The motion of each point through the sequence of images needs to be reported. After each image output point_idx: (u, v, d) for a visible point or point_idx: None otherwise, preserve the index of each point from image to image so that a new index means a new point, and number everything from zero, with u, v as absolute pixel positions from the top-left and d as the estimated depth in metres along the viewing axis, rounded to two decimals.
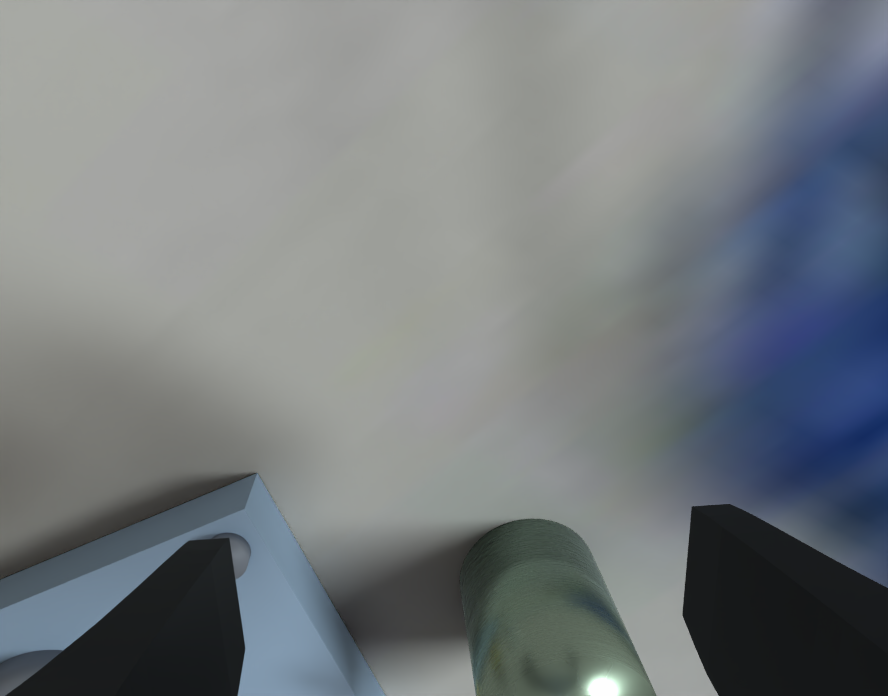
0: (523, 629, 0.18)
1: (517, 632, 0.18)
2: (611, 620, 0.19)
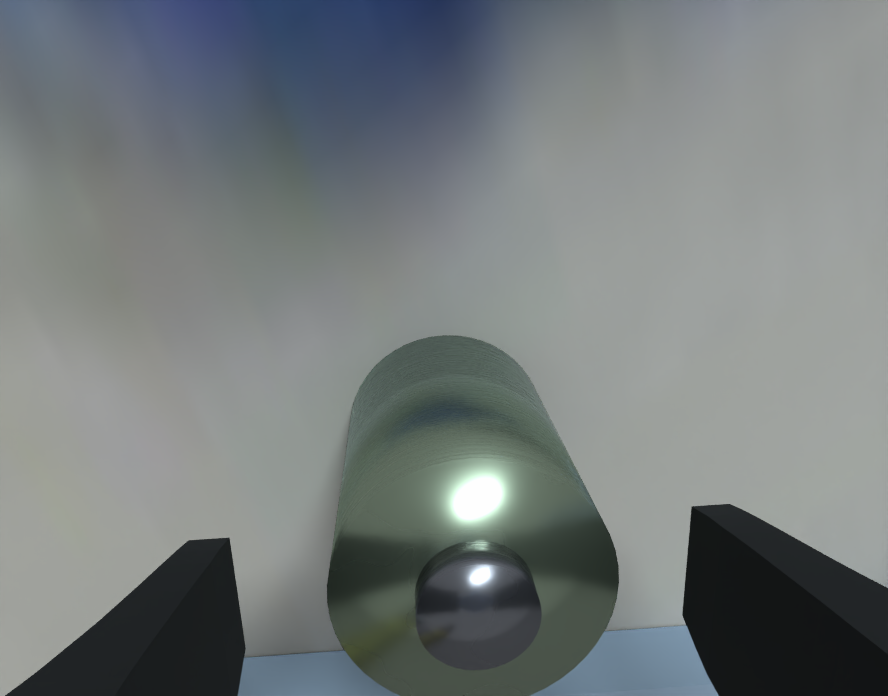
0: None
1: None
2: (395, 430, 0.12)
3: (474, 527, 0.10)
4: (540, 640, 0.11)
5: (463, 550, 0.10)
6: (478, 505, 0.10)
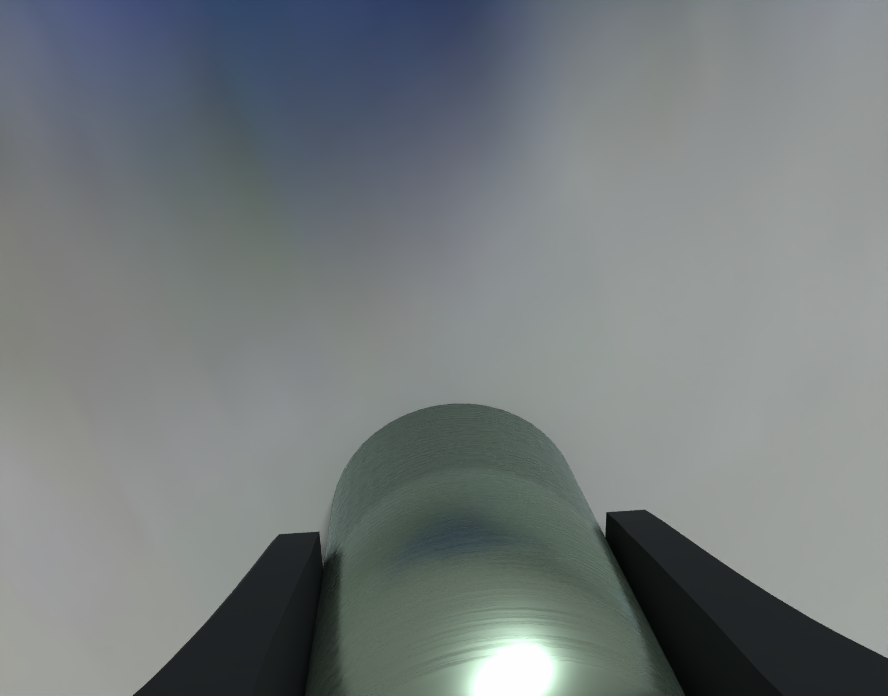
0: None
1: None
2: (389, 574, 0.08)
3: None
4: None
5: None
6: None
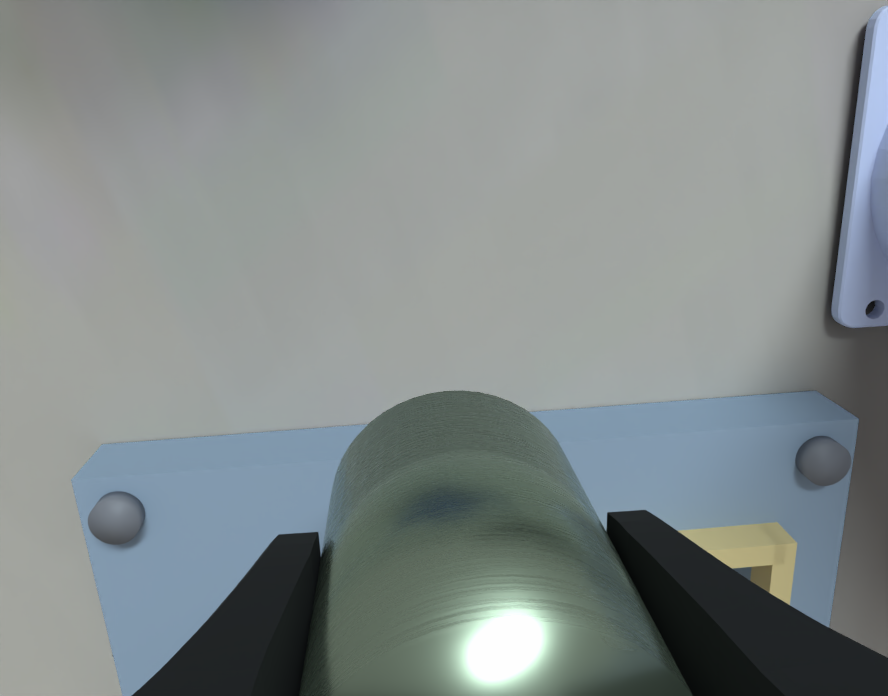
0: None
1: None
2: (381, 550, 0.08)
3: None
4: None
5: None
6: (506, 686, 0.07)
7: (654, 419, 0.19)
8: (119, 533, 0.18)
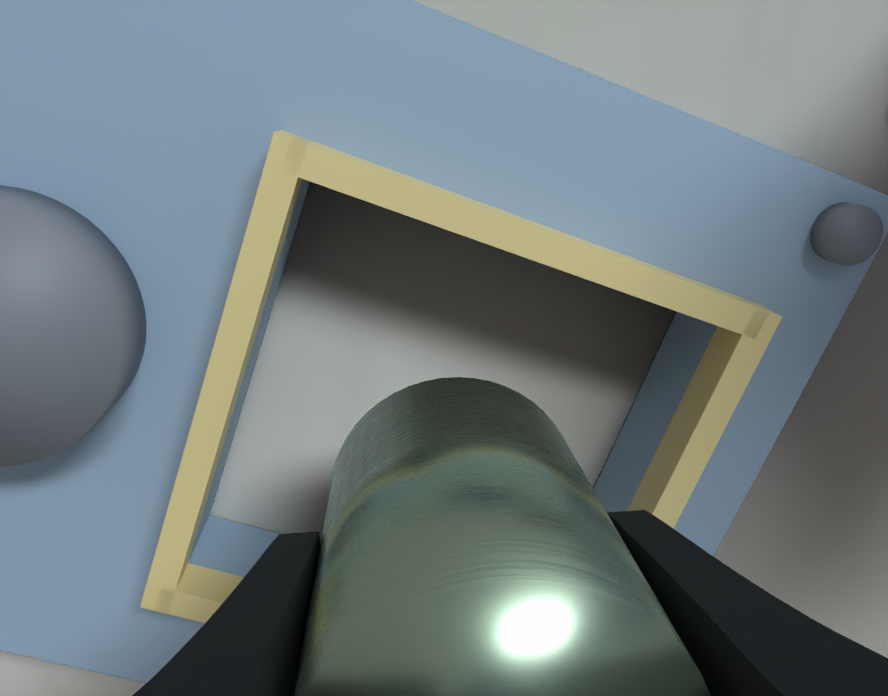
0: None
1: None
2: (374, 526, 0.08)
3: (497, 679, 0.07)
4: None
5: None
6: (500, 648, 0.07)
7: None
8: None
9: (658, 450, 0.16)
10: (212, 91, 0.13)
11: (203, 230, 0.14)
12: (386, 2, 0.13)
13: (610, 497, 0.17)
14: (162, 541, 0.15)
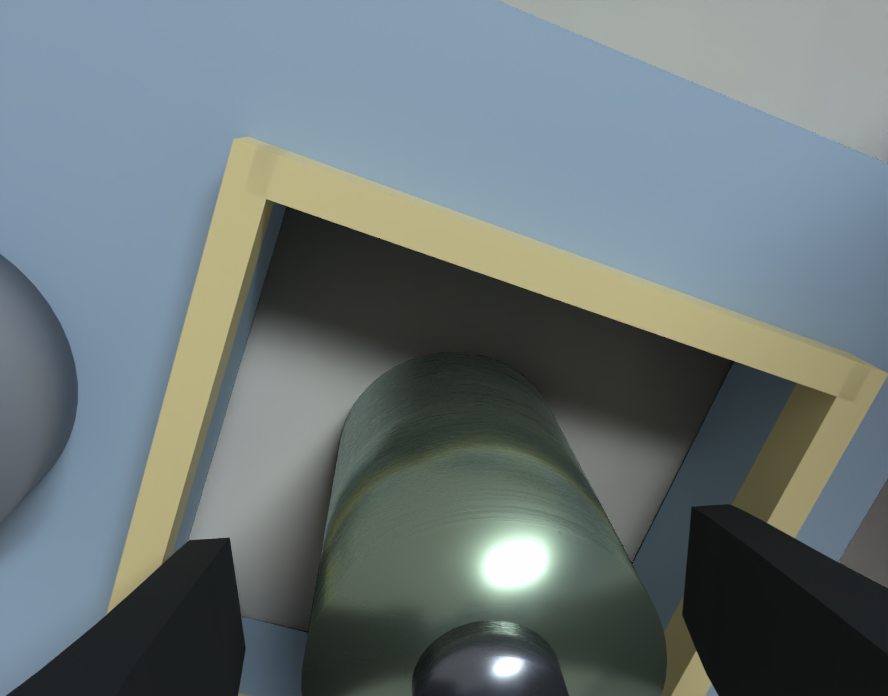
0: None
1: None
2: (378, 480, 0.10)
3: (480, 603, 0.08)
4: None
5: (467, 636, 0.08)
6: (482, 577, 0.08)
7: None
8: None
9: None
10: (155, 86, 0.10)
11: (148, 265, 0.11)
12: None
13: (655, 580, 0.14)
14: None
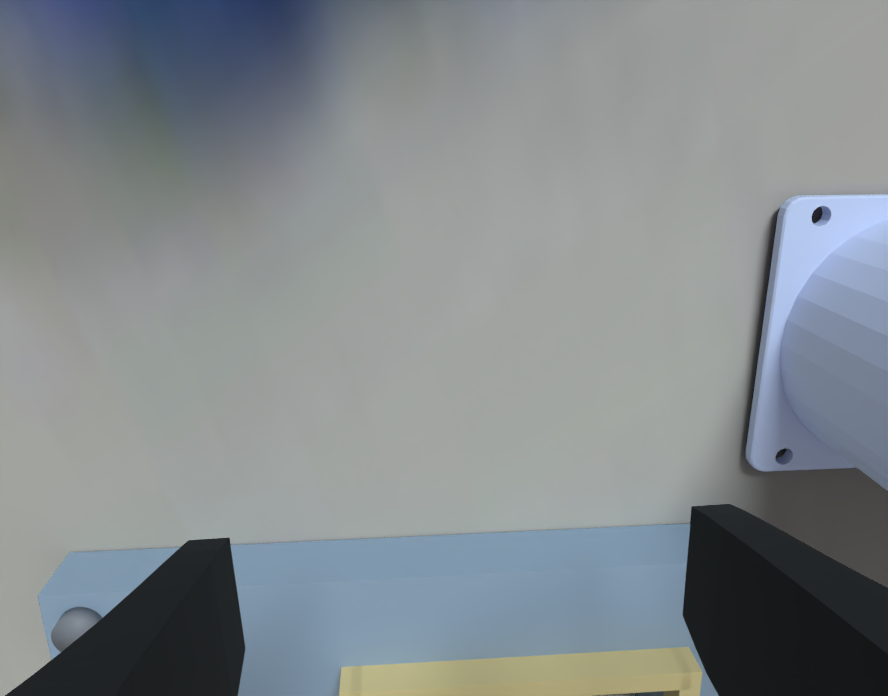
0: None
1: None
2: None
3: None
4: None
5: None
6: None
7: (578, 549, 0.21)
8: None
9: None
10: (292, 663, 0.20)
11: None
12: (376, 585, 0.20)
13: None
14: None
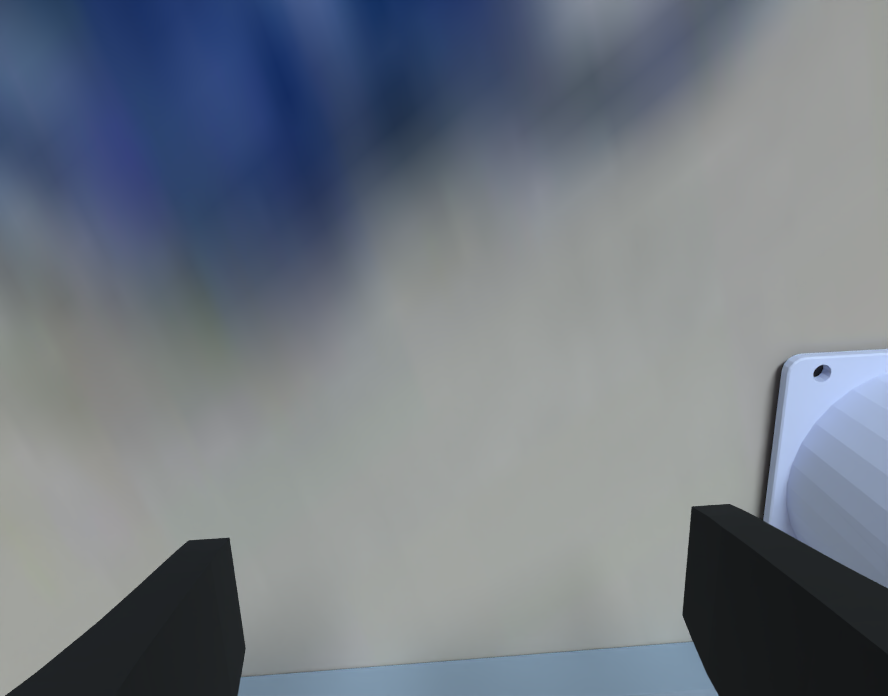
0: None
1: None
2: None
3: None
4: None
5: None
6: None
7: (602, 674, 0.22)
8: None
9: None
10: None
11: None
12: None
13: None
14: None
